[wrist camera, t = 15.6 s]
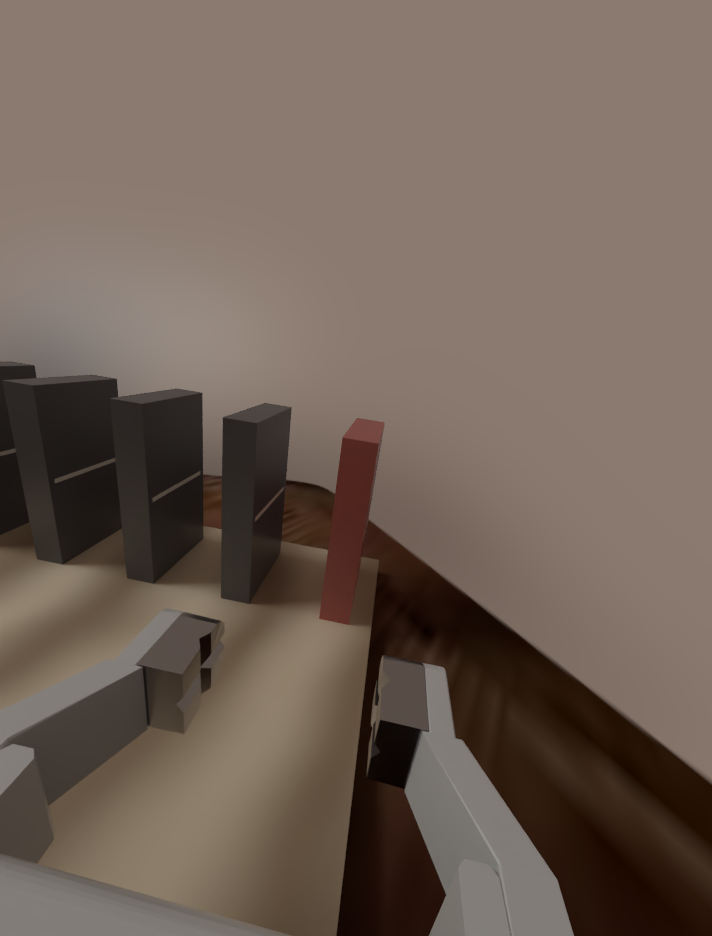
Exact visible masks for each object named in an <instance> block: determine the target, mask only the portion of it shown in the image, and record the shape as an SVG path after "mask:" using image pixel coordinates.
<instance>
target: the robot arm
mask: <svg viewBox="0 0 712 936" xmlns="http://www.w3.org/2000/svg"><path fill="white" fill-rule="evenodd" d="M224 633H225V630H224V622H222V621H220V620H216V619H212V618H208V617H203V616H199V615H195V614H191V613H187V612H182V611H177V610H173V609H169V608H166V609H164V610H162V611H161V612H159V613H158V614H157V615H156V617H155V618H154V619H153V620H152V621H151V622H150V623H149V624H148V625H147V626H146V627H145V628H144V629H143V630H142V631H141V632H140V633H139V634H138V635H137V637H136V638H135V639H134V640H133V641H132V642H131V643H130V644H129V645H128V646H127V647H126V648H125V649H124V650H123V651H122V652H121V653H120V654H119V655H118V657H117V658H116V659H115V660H111V659H107V660H105V661H103V662H101V663H99V664H96V665H94V666H92V667H90V668H88V669H86V670H84V671H82V672H80V673H78V674H75V675H73V676H71V677H69V678H67V679H65V680H63V681H61V682H59V683H57V684H54V685H52V686H50V687H48V688H46V689H44V690H42V691H40V692H38V693H36V694H34V695H31V696H29V697H27V698H25V699H23V700H21V701H19V702H17V703H15V704H13V705H10V706H8V707H6V708H4V709H2V710H0V936H292V935H288V934H285V933H281V932H278V931H274V930H271V929H267V928H263V927H260V926H256V925H253V924H249V923H246V922H242V921H239V920H235V919H231V918H228V917H224V916H221V915H217V914H214V913H210V912H207V911H203V910H200V909H196V908H192V907H189V906H185V905H182V904H178V903H175V902H171V901H168V900H164V899H161V898H157V897H153V896H150V895H146V894H143V893H139V892H136V891H132V890H129V889H125V888H122V887H118V886H114V885H111V884H107V883H104V882H100V881H97V880H93V879H90V878H86V877H82V876H79V875H75V874H72V873H68V872H65V871H61V870H58V869H54V868H51V867H47V866H43V865H40V864H37V863H38V862H39V860H40V859H41V857H42V856H43V855H44V853H45V852H46V850H47V849H48V847H49V846H50V845H51V843H52V842H53V840H54V833H55V829H54V825H53V821H52V817H51V813H50V809H49V805H50V804H52V803H53V802H54V801H56V800H57V799H58V798H60V797H61V796H62V795H63V794H65V793H66V792H67V791H69V790H70V789H71V788H72V787H74V786H75V785H76V784H78V783H79V782H80V781H82V780H83V779H84V778H85V777H87V776H88V775H89V774H91V773H92V772H93V771H95V770H96V769H97V768H98V767H100V766H101V765H102V764H104V763H105V762H106V761H107V760H109V759H110V758H111V757H113V756H114V755H115V754H117V753H118V752H119V751H120V750H122V749H123V748H124V747H126V746H127V745H128V744H129V743H131V742H132V741H133V740H135V739H136V738H137V737H139V736H140V735H141V734H142V733H144V732H145V731H146V730H147V729H148V727H152V728H157V729H162V730H166V731H171V732H176V733H181V734H185V732H186V730H187V729H188V727H189V725H190V723H191V722H192V720H193V718H194V717H195V715H196V713H197V711H198V710H199V708H200V706H201V694H202V693H204V692H205V691H207V690H208V689H210V688H211V687H212V685H213V683H214V682H215V680H216V678H217V676H218V673H219V671H220V668H221V665H222V662H223V657H224V645H223V644H222V642H221V641H220V639H221V638H222V636H223V635H224ZM371 726H372V733H371V737H370V742H369V750H368V763H367V777H366V778H367V779H371V780H374V781H378V782H381V783H385V784H389V785H392V786H396V787H399V788H403V789H405V794H406V796H407V799H408V801H409V804H410V806H411V809H412V811H413V814H414V816H415V819H416V821H417V824H418V826H419V829H420V831H421V833H422V836H423V838H424V841H425V843H426V846H427V848H428V851H429V853H430V856H431V858H432V861H433V863H434V866H435V868H436V871H437V873H438V876H439V878H440V881H441V883H442V885H443V888H444V890H445V893H446V897H445V900H444V902H443V904H442V907H441V909H440V911H439V913H438V916H437V918H436V920H435V923H434V925H433V927H432V930H431V932H430V934H429V936H574V935H573V931H572V928H571V925H570V921H569V918H568V915H567V911H566V908H565V905H564V901H563V898H562V894H561V891H560V888H559V884H558V881H557V879H556V877H555V876H554V874H553V873H552V872H551V870H550V869H549V867H548V866H547V864H546V863H545V861H544V860H543V858H542V857H541V855H540V854H539V852H538V851H537V849H536V848H535V846H534V845H533V843H532V842H531V840H530V839H529V838H528V836H527V835H526V833H525V832H524V830H523V829H522V827H521V826H520V824H519V823H518V821H517V820H516V818H515V817H514V815H513V814H512V812H511V811H510V809H509V808H508V807H507V805H506V804H505V802H504V801H503V799H502V798H501V796H500V795H499V793H498V792H497V790H496V789H495V787H494V786H493V784H492V783H491V781H490V780H489V778H488V777H487V775H486V774H485V773H484V771H483V770H482V768H481V767H480V765H479V764H478V762H477V761H476V759H475V758H474V756H473V755H472V753H471V752H470V750H469V749H468V747H467V746H466V744H465V743H464V742H463V740H460V739H456V737H455V730H454V723H453V716H452V709H451V703H450V696H449V689H448V682H447V675H446V671H445V669H444V667H439V666H434V665H429V664H424V663H423V664H422V663H420V662H415V661H410V660H405V659H400V658H395V657H390V656H385V655H383V656H382V658H381V663H380V668H379V679H377V681H376V686H375V692H374V698H373V705H372V715H371Z"/></svg>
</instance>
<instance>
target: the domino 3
mask: <svg viewBox="0 0 712 936" xmlns="http://www.w3.org/2000/svg"><path fill="white" fill-rule="evenodd" d="M110 408H111V419H112V429H113V440H114V450H115V460H116V471H117V481H118V492H119V502H120V512H121V523H122V533H123V543H124V554H125V564H126V575H127V578H128V579H133V580H137V581H142V582H147V583H152V584H154V583H155V582H156V581H158V580H159V579H160V578H161V577H162V576H163V575H164V574H165V573H166V572H167V571H168V570H170V569H171V568H172V567H173V566H174V565H175V564H176V563H177V562H178V561H179V560H180V559H182V558H183V557H184V556H185V555H186V554H187V553H188V552H189V551H190V550H191V549H192V548H194V547H195V546H196V545H197V544H198V543H199V542H200V541H201V540H202V539H203V435H202V434H203V429H202V393H200V392H194V391H188V390H182V389H171V390H164V391H157V392H151V393H144V394H136V395H129V396H122V397H115V398H110Z"/></svg>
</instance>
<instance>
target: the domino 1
mask: <svg viewBox="0 0 712 936" xmlns="http://www.w3.org/2000/svg"><path fill="white" fill-rule="evenodd" d="M31 378H36V372H35V366H34V365H29V364H23V363H16V362H0V535H2V534H4V533H7V532H9V531H11V530H13V529H16V528H18V527H20V526H22V525H25V524H27V523H29V522H30V521H29V516H28V511H27V506H26V501H25V496H24V490H23V485H22V480H21V475H20V470H19V465H18V460H17V455H16V449H15V444H14V439H13V434H12V429H11V424H10V419H9V414H8V408H7V403H6V398H5V393H4V388H3V383H2V380H14V379H31Z"/></svg>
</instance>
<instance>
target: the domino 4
mask: <svg viewBox="0 0 712 936" xmlns="http://www.w3.org/2000/svg"><path fill="white" fill-rule="evenodd" d="M290 420H291V407H286V406H280V405H274V404H267V403H264V404H261V405H258V406H255V407H252V408H249V409H246V410H243V411H240V412H238V413H235V414H232V415H229V416H226V417H223V458H222V464H223V465H222V543H221V598H223V599H227V600H232V601H237V602H242V603H246V604H249V603H250V602H251V600H252V598H253V597H254V595H255V594H256V592H257V590H258V589H259V587H260V586H261V584H262V582H263V581H264V579H265V577H266V576H267V574H268V573H269V571H270V569H271V568H272V566H273V564H274V563H275V561H276V560H277V558H278V556H279V555H280V550H281V537H282V524H283V511H284V498H285V485H286V472H287V458H288V446H289V432H290Z"/></svg>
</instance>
